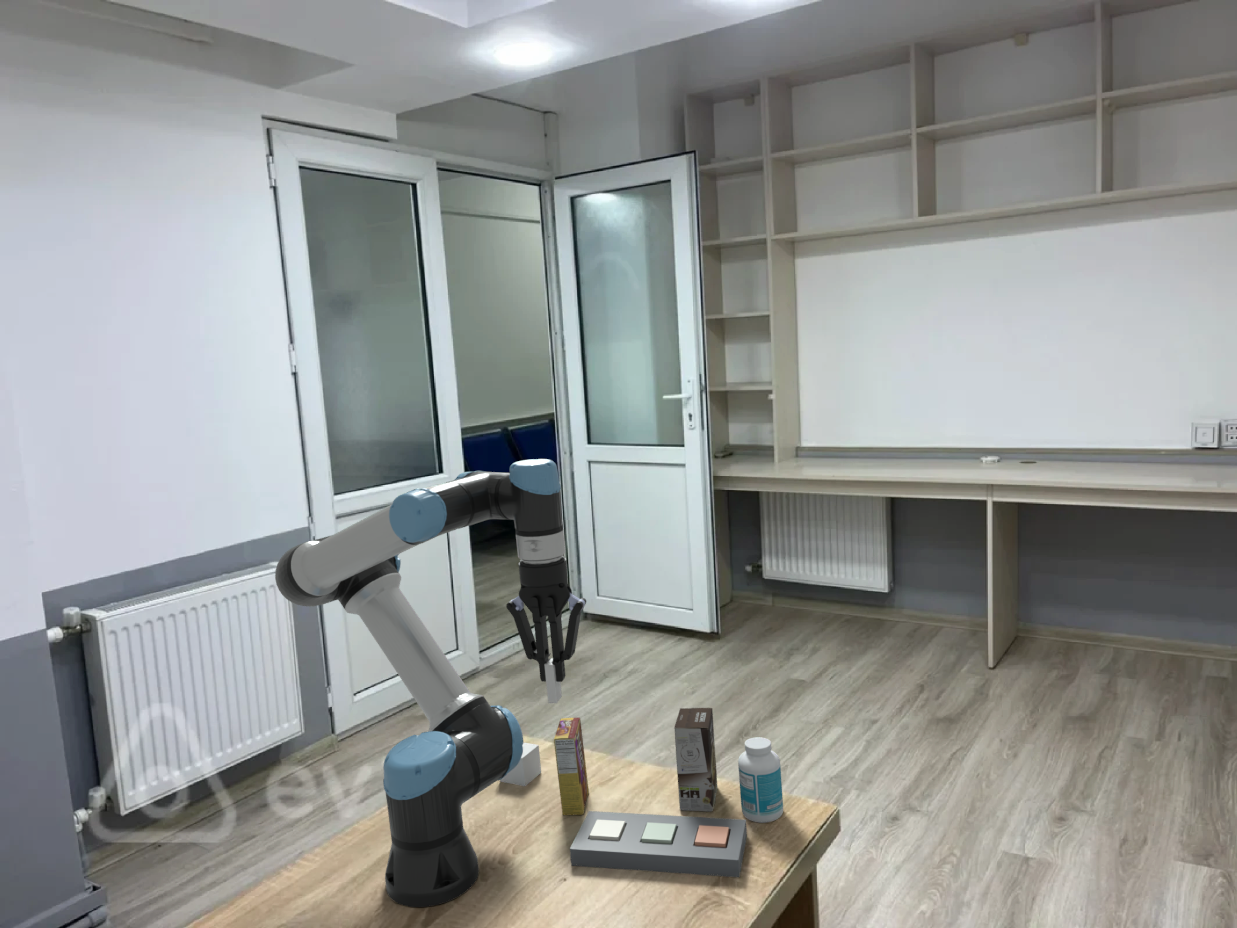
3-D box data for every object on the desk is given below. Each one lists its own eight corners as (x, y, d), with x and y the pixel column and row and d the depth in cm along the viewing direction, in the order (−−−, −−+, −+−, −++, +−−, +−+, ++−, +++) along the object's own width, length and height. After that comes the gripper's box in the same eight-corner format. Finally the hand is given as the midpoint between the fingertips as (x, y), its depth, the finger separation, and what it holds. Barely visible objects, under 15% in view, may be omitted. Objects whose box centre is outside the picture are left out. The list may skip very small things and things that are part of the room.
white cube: (525, 786, 181) (522, 758, 180) (500, 781, 184) (497, 753, 183) (541, 772, 186) (538, 744, 185) (516, 767, 189) (514, 740, 188)
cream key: (591, 853, 156) (589, 835, 155) (598, 836, 161) (597, 819, 160) (619, 855, 155) (618, 836, 154) (626, 838, 159) (624, 820, 159)
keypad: (571, 865, 153) (569, 848, 153) (590, 826, 165) (588, 810, 164) (739, 877, 146) (738, 859, 146) (746, 835, 158) (745, 819, 157)
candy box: (566, 791, 178) (560, 717, 175) (589, 791, 177) (582, 716, 175) (560, 816, 169) (553, 738, 167) (583, 815, 168) (576, 737, 166)
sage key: (642, 856, 154) (641, 838, 153) (648, 839, 158) (647, 822, 158) (672, 858, 152) (670, 840, 152) (677, 841, 157) (676, 823, 157)
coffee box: (714, 812, 166) (708, 728, 164) (678, 810, 168) (672, 727, 165) (718, 786, 175) (713, 706, 173) (685, 785, 176) (679, 706, 174)
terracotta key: (696, 860, 151) (694, 841, 151) (700, 843, 156) (699, 825, 156) (726, 862, 150) (725, 843, 150) (729, 845, 155) (728, 826, 155)
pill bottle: (785, 804, 167) (781, 734, 165) (781, 826, 160) (777, 753, 158) (744, 801, 169) (740, 732, 167) (738, 822, 162) (734, 751, 160)
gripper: (494, 564, 143) (508, 708, 146) (574, 563, 140) (587, 710, 143) (511, 552, 150) (524, 689, 153) (588, 551, 147) (599, 691, 150)
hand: (555, 699), depth 148 cm, fingers closed
